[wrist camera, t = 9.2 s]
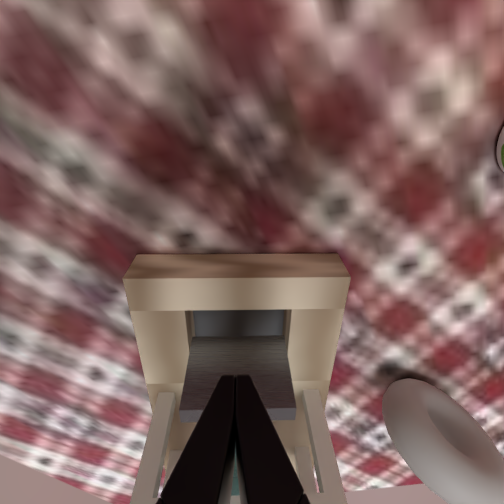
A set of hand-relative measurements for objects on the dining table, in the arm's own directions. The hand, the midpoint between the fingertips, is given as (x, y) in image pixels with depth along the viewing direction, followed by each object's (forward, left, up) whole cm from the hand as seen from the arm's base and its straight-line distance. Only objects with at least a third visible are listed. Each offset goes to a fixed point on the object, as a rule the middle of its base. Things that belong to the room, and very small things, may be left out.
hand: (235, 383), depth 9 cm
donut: (+16, -17, -13) cm, 27 cm away
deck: (0, -18, -13) cm, 22 cm away
